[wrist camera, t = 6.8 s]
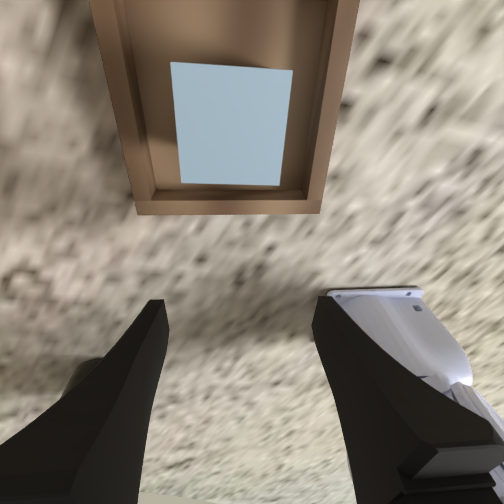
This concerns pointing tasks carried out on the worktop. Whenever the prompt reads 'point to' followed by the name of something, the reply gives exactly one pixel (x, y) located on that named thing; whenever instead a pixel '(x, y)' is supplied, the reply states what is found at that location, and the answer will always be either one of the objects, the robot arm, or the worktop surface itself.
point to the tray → (232, 54)
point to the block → (230, 122)
